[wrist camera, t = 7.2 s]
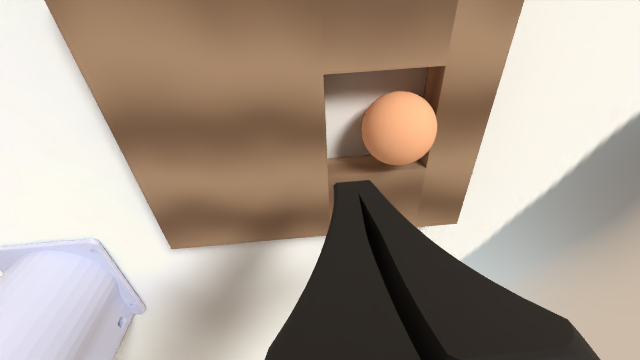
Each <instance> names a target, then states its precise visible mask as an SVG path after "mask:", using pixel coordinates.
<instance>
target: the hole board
mask: <svg viewBox="0 0 640 360" xmlns="http://www.w3.org/2000/svg"><path fill="white" fill-rule="evenodd" d="M45 2H46V4H47V6H48V8H49V10H50V12H51V14H52V16H53V18H54V20H55V22H56V24H57V26H58V28H59V30H60V32H61V34H62V36H63V38H64V40H65V41H66V43H67V45H68V47H69V49H70V51H71V53H72V55H73V57H74V59H75V61H76V63H77V65H78V67H79V69H80V71H81V73H82V75H83V77H84V79H85V81H86V83H87V85H88V87H89V88H90V90H91V92H92V94H93V96H94V98H95V100H96V102H97V104H98V106H99V108H100V110H101V112H102V114H103V116H104V118H105V120H106V122H107V124H108V126H109V128H110V130H111V132H112V134H113V135H114V137H115V139H116V141H117V143H118V145H119V147H120V149H121V151H122V153H123V155H124V157H125V159H126V161H127V163H128V165H129V167H130V169H131V171H132V173H133V175H134V177H135V179H136V181H137V182H138V184H139V186H140V188H141V190H142V192H143V194H144V196H145V198H146V200H147V202H148V204H149V206H150V208H151V210H152V212H153V214H154V216H155V218H156V220H157V222H158V224H159V226H160V228H161V229H162V231H163V233H164V235H165V237H166V239H167V241H168V243H169V245H170V247H171V249H179V248H190V247H201V246H213V245H224V244H235V243H246V242H257V241H268V240H279V239H291V238H302V237H313V236H324V235H327V232H328V229H329V225H330V221H331V216H332V211H333V206H334V190H333V185H334V184H336V183H339V182H350V181H362V180H370V181H371V182H372V183H373V184H374V185H375V186H376V187H377V188H378V190H379V191H380V192H381V193H382V194H383V195H384V196H385V197H386V198H387V199H388V201H389V202H390V203H391V204H392V205H393V206H394V207H395V208H396V209H397V210H398V211H399V212H400V213H401V214H402V215H403V216H404V217H405V218H406V219H407V220H408V221H410V222H411V223H412V224H413V225H414V226H415V227H424V226H436V225H447V224H457V221H458V218H459V215H460V211H461V208H462V205H463V201H464V198H465V195H466V192H467V188H468V185H469V182H470V178H471V175H472V172H473V168H474V165H475V162H476V158H477V155H478V152H479V149H480V145H481V142H482V139H483V135H484V132H485V129H486V125H487V122H488V119H489V115H490V112H491V109H492V105H493V102H494V99H495V96H496V92H497V89H498V86H499V82H500V79H501V76H502V72H503V69H504V66H505V62H506V59H507V56H508V53H509V49H510V46H511V43H512V39H513V36H514V33H515V29H516V26H517V23H518V19H519V16H520V13H521V9H522V6H523V3H524V0H45ZM421 67H429V68H428V74H427V81H426V87H425V93H424V99H425V100H426V101H427V102H428V103H429V105H430V106H431V107H432V109H433V111H434V113H435V116H436V120H437V133H436V138H435V140H434V143H433V145H432V146H431V148H430V149H429V151H428V152H427V153H426V154H425V155H424V156H423V157H421V158H420V159H418V160H417V161H415V162H412V163H409V164H406V165H390V164H386V163H383V162H381V161H379V160H378V159H376V158H375V157H374V156H372V155H369V156H357V157H345V158H333V159H327V144H326V121H325V98H324V76H323V75H326V74H340V73H353V72H367V71H380V70H394V69H408V68H421Z"/></svg>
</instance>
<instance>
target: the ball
mask: <svg viewBox="0 0 640 360" xmlns="http://www.w3.org/2000/svg"><path fill="white" fill-rule="evenodd" d="M436 133H437V120H436V116H435V113H434V111H433V109H432V107H431V106H430V105H429V103H428V102H427V101H426V100H425V99H423V98H422V97H420V96H419V95H417V94H414V93H411V92H406V91H396V92H391V93H388V94H385V95H383V96H381V97H380V98H378V99H377V100H376V101H374V102H373V103H372V104H371V106H370V107H369V108H368V110H367V111H366V113H365V115H364V118H363V122H362V138H363V142H364V144H365V146H366V148H367V150H368V151H369V152H370V154H371V155H372V156H374V157H375V158H376V159H378V160H379V161H381V162H383V163H386V164H390V165H406V164H409V163H412V162H415V161H417V160H418V159H420V158H421V157H423V156H424V155H425V154H426V153H427V152H428V151H429V149H430V148H431V146H432V145H433V143H434V140H435V138H436Z"/></svg>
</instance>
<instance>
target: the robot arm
mask: <svg viewBox="0 0 640 360" xmlns="http://www.w3.org/2000/svg"><path fill="white" fill-rule="evenodd" d="M333 190H334V206H333V211H332V216H331V221H330V225H329V229H328V232H327V235H326V239H325V242H324V245H323V248H322V251H321V253H320V256H319V258H318V261H317V263H316V266H315V268H314V270H313V272H312V275H311V277H310V279H309V281H308V283H307V285H306V287H305V289H304V291H303V293H302V295H301V296H300V298H299V300H298V302H297V304H296V306H295V307H294V309H293V311H292V313H291V314H290V316H289V318H288V319H287V321H286V323H285V324H284V326H283V327H282V329H281V330H280V332H279V333H278V335H277V337H276V338H275V340H274V341H273V343H272V344H271V346H270V347H269V349H268V352H267V355H266V358H265V360H600V359H599V357H598V356H597V355H596V353H595V352H594V351H593V350H592V348H591V347H590V346H589V344H588V343H587V342H586V341H585V339H584V338H583V337H582V336H581V334H580V333H579V332H578V331H577V330H576V328H575V327H574V326H573V325H572V324H571V323H570V322H569V321H568V319H565V318H563V317H561V316H559V315H557V314H555V313H553V312H551V311H549V310H547V309H545V308H543V307H541V306H539V305H537V304H535V303H533V302H530V301H528V300H526V299H524V298H522V297H520V296H518V295H517V294H515V293H513V292H511V291H509V290H507V289H506V288H504V287H502V286H500V285H498V284H496V283H495V282H493V281H491V280H489V279H488V278H486V277H484V276H483V275H481V274H479V273H478V272H476V271H475V270H473V269H471V268H470V267H468V266H467V265H465V264H464V263H462V262H461V261H459V260H458V259H456V258H455V257H453V256H452V255H450V254H449V253H447V252H446V251H445V250H443V249H442V248H441V247H439V246H438V245H437V244H435V243H434V242H433V241H431V240H430V239H429V238H428V237H427V236H425V235H424V234H423V233H422V232H421V231H420V230H418V229H417V228H416V227H415V226H414V225H413V224H412V223H411V222H410V221H408V220H407V219H406V218H405V217H404V216H403V215H402V214H401V213H400V212H399V211H398V210H397V209H396V208H395V207H394V206H393V205H392V204H391V203H390V202H389V201H388V199H387V198H386V197H385V196H384V195H383V194H382V193H381V192H380V191H379V190H378V188H377V187H376V186H375V185H374V184H373V183H372V182H371V181H370V180H362V181H350V182H339V183H336V184H334V185H333ZM0 270H1V271H2V272H3V273H4V274H3V275H2V276H1V277H0V360H113V358H114V356H115V354H116V352H117V350H118V348H119V345H120V343H121V341H122V339H123V337H124V335H125V332H126V330H127V328H128V326H129V324H130V322H131V320H132V317H133V315H135V314H142V313H144V311H145V309H146V307H145V306H144V304H143V303H142V302H141V300H140V299H139V297H138V296H137V294H136V293H135V292H134V290H133V289H132V287H131V286H130V285H129V283H128V282H127V280H126V279H125V278H124V276H123V275H122V273H121V272H120V270H119V269H118V268H117V266H116V265H115V263H114V262H113V261H112V259H111V258H110V256H109V255H108V253H107V252H106V251H105V249H104V248H103V246H102V245H101V244H100V242H99V241H97V240H95V239H82V240H71V241H59V242H48V243H36V244H25V245H14V246H2V247H0Z"/></svg>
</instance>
